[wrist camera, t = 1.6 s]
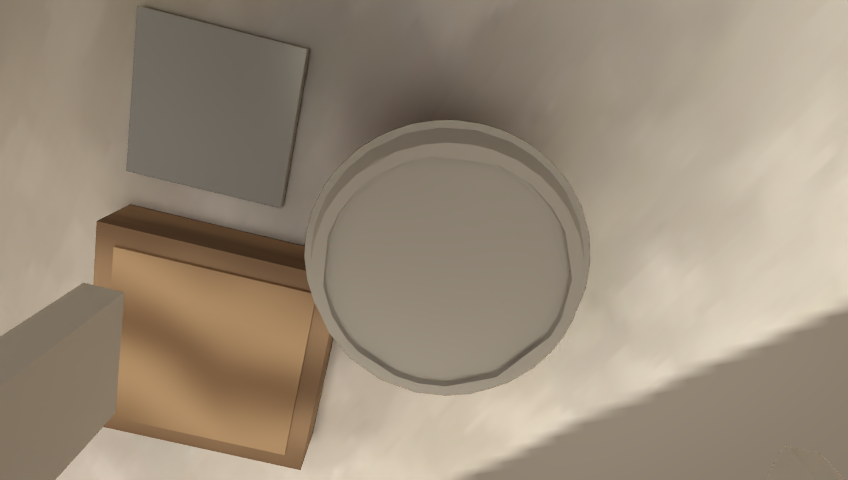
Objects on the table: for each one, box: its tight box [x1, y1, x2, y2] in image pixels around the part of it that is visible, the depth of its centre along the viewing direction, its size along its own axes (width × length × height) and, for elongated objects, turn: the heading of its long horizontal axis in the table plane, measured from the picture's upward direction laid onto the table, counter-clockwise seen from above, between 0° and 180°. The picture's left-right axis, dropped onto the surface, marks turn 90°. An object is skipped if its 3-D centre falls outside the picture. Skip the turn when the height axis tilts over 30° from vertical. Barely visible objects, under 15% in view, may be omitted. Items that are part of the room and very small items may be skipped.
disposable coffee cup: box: [304, 120, 590, 396], centre depth 23 cm, size 10×10×12 cm
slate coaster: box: [126, 6, 310, 208], centre depth 28 cm, size 8×8×1 cm
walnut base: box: [94, 205, 333, 470], centre depth 30 cm, size 12×12×3 cm
